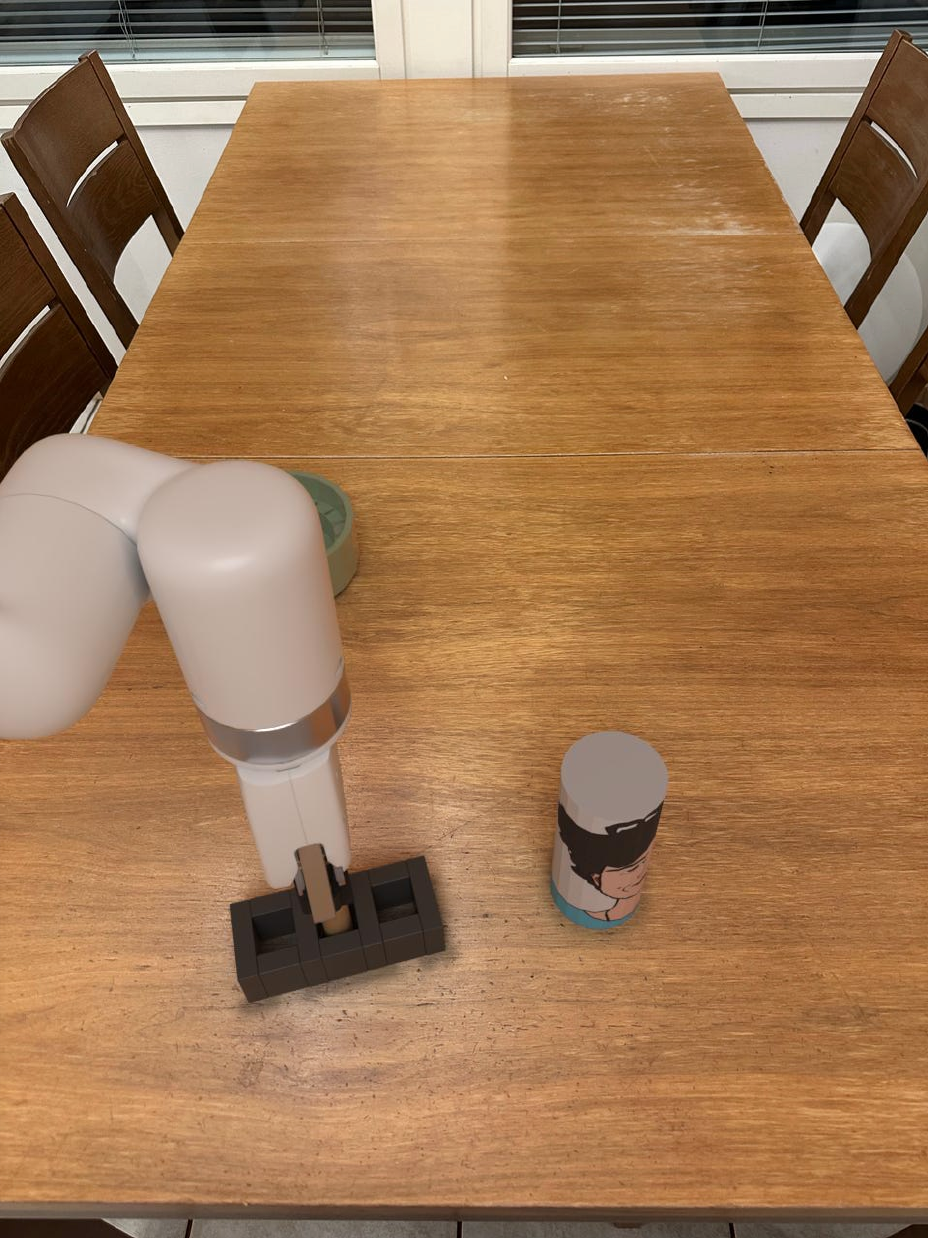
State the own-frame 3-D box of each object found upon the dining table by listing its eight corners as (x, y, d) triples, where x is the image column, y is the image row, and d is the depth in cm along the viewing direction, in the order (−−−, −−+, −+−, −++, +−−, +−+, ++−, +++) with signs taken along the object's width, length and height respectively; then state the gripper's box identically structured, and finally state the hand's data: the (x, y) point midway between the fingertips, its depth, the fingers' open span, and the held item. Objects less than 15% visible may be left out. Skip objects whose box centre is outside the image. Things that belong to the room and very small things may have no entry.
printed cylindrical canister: (600, 948, 67) (621, 842, 56) (531, 886, 71) (538, 774, 60) (659, 886, 70) (690, 774, 59) (590, 829, 74) (607, 713, 63)
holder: (248, 1003, 65) (237, 980, 62) (240, 929, 69) (229, 903, 66) (445, 951, 67) (443, 926, 64) (427, 881, 71) (424, 854, 68)
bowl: (211, 636, 88) (196, 591, 84) (199, 530, 98) (185, 485, 94) (373, 603, 91) (366, 558, 86) (345, 503, 101) (338, 458, 96)
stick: (330, 956, 67) (296, 843, 56) (325, 930, 69) (291, 815, 57) (358, 949, 68) (329, 835, 56) (352, 923, 69) (324, 807, 57)
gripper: (186, 590, 52) (249, 775, 65) (211, 858, 41) (281, 1014, 54) (321, 563, 53) (356, 750, 66) (381, 817, 42) (408, 980, 55)
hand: (322, 867), depth 60 cm, fingers open, 4 cm apart
